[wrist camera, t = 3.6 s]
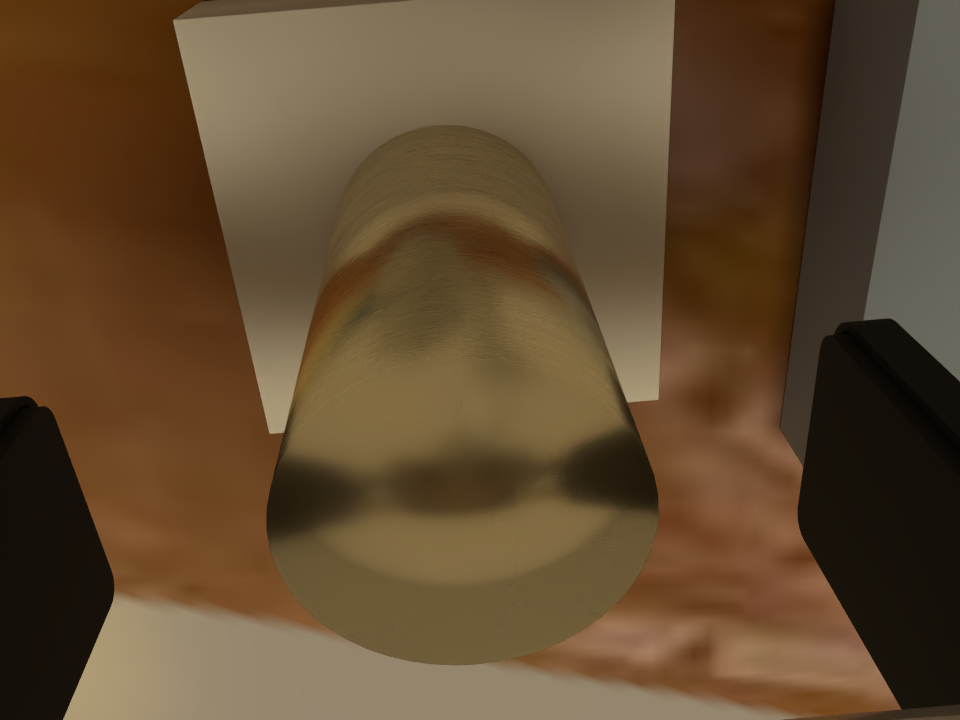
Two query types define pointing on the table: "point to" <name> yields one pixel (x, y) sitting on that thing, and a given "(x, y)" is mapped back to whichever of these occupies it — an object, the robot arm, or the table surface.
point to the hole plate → (882, 190)
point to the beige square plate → (422, 103)
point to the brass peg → (457, 419)
